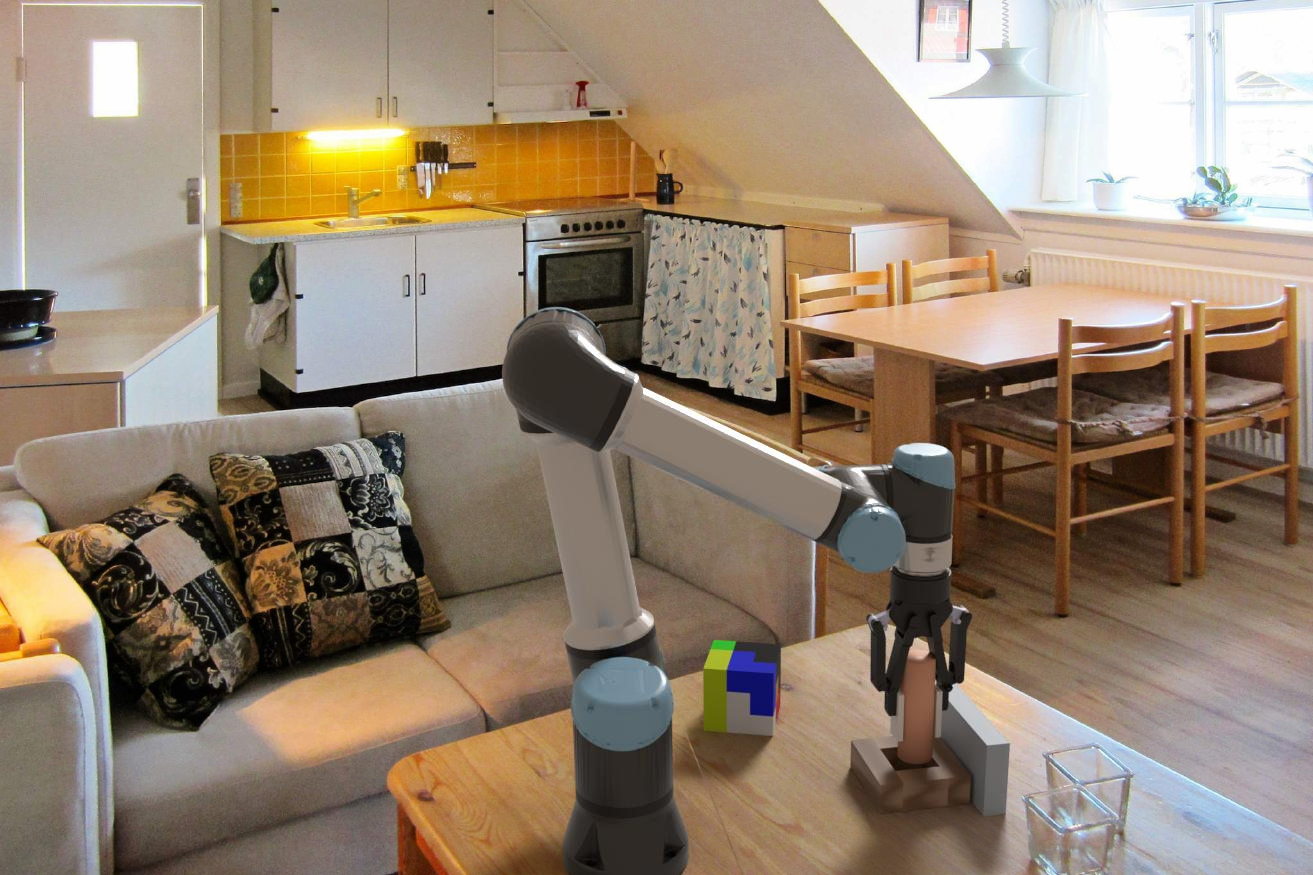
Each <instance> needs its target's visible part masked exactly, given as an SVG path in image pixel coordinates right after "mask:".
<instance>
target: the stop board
mask: <svg viewBox="0 0 1313 875" xmlns="http://www.w3.org/2000/svg"><path fill="white" fill-rule="evenodd" d="M952 686H953V689H952V691H951V692H949V702H948V703H949V704H948V709H947V710H946V711H942V720H941V737H940V738H941V739H942V740H943V741H944V743H945V744H946V745H947V746H948V748H949V749H950V750H951V751H952V753H953V754H954V755H955V756H956V758H957V759H958V760H959V761H960V763H961V764H962V765H963V766H964V768H965V769H966V770H967V771H968V773H969V774H970V775H971V785H970V801H971V802H972V803H973V805H974V806H975V807H976V809H977V810H978V811H979V813H980V814H981V816H983V817H988V816H996V815H1005V814H1006V813H1007V799H1008V782H1009V767H1010V766H1009V765H1010V749H1011V748H1010V747H1011V743H1010V741H1009V740H1008V739H1007V738H1006V737H1005V736H1004V735H1003V734H1002V733H1001V731H1000V730H999V729H998V728H997V727H996V726H995V725H994V724H993V722H992V721H991V720H990V719H989V718H988V717H987V716H986V715H985V714H984V712H982V710H981V709H980V708H979V707H978V706H977V705H976V704H975V703H974V701H973V700H972V699H971V698H970V697H969V696H968V695H967V694H966V692H965V691H964V690H963V689H962V688H961V687H960V686H959V684H958V683H956V684H953V685H952Z"/></svg>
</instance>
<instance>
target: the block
mask: <svg viewBox="0 0 1313 875" xmlns="http://www.w3.org/2000/svg"><path fill="white" fill-rule="evenodd" d="M897 749H898V742H897V740H896V739H895V738H894V736H893V735H889V736H888V735H887V736H880V737H870V738H869V737H867V738H860V739H859V738H857V739H851V740H850V763H849V764H850V768H851V770H852V772H853V774H854V775H855V776H856V778H857V780H858V781H859V783H860V784H861V786H862V788H863V789H864V791H865V792H866V794H867V796H868V797H869V799H870V801H871V802H872V804H873V806H874V807H875V808H876V810H877V811H878V812H877V813H879V815H881V814H889V813H897V812H898V813H899V812H905V811H906V812H907V811H916V810H917V811H918V810H924V809H933V808H934V809H935V808H944V807H945V808H946V807H954V806H961V805H962V806H964V805H970V801H971V800H970V785H971V775H970V774H969V773H968V771H967V770H966V769H965V768H964V766H963V765H962V764H961V763H960V761H959V760H958V759H957V758H956V756H955V755H954V754H953V753H952V751H951V750H950V749H949V748H948V746H947V745H946V744H945V743H944V741H943V740H942V739H941V738H940V737H937V738H935V737H934V735H933V752H932V759H931V760H930V761H929V762H927V763H924V764H911V763H907V762H904V761H902V760H901V759H899V757H898V755H897Z"/></svg>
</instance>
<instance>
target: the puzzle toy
mask: <svg viewBox="0 0 1313 875" xmlns="http://www.w3.org/2000/svg"><path fill="white" fill-rule="evenodd" d="M702 668H703V671H702V672H703V673H702V674H703V675H702V676H703V678H702V679H703V682H702V684H703V690H702V692H703V693H702V694H703V732H705V731H706V732H717V733H731V734H742V735H755V736H767V737H773V736H774V734H775V730H776V724H777V721H778V718H779V714H780V709H781V692H782V691H781V690H782V688H781V684H782V683H781V681H782V680H781V679H782V678H781V675H782V670H781V669H782V644H779V643H766V642H750V641H749V642H748V641H738V640H737V641H734V640H724V639H723V640H721V639H720V640H718V639H713V642H712V645H711V646H710V649H709V652H708V655H707V658H706V660H705V663H704V666H703V667H702Z"/></svg>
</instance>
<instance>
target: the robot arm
mask: <svg viewBox="0 0 1313 875" xmlns="http://www.w3.org/2000/svg"><path fill="white" fill-rule="evenodd" d="M606 354H607V352H606V344H605V341H604V337H603V336H602V334H601V332H600V330H599V328H597V326H596V325H595V323H594V322H593V321H592V320H591V319H589V318H588V317H587V316H585V315H584V314H582V313H581V312H579V311H577V310H574V309H573V308H572V309H571V308H568V307H561V306H553V307H552V306H551V307H550V306H549V307H544V308H541V309H539V310H536V311H534V312H532V313H530V314H529V315H527V316H526V317H523V319H522V320H520V322H519V323H518V324H517V325H516V326H515V327H514V329H513V330H512V332H511V334H510V335H509V338H508V341H507V345H506V353H505V357H504V358H503V362H502V370H501V377H502V385H503V389H504V391H505V395H506V396H507V398H508V400H509V402H510V403H511V405H512V406H513V408H514V409H515V410H516V415H517V419H518V424H519V429H520V433H522V434H523V435H524V436H526V437H528V438H530V439H531V440H532V441H533V442H534V443H535V444H536V449H537V453H538V458H539V465H540V469H541V473H542V478H543V482H544V488H545V492H546V496H547V502H548V506H549V507H548V508H549V511H550V517H551V522H552V527H553V532H554V536H555V541H556V547H557V551H558V556H559V560H560V565H561V570H562V576H563V580H564V584H565V589H566V590H565V591H566V595H567V600H568V604H569V608H570V609H569V610H570V615H571V619H572V620H571V622H570V623H569V624H568V626H567V628H566V629H565V630H564V632H563V639H564V644H565V650H566V654H567V658H568V664H569V668H570V673H571V680H572V684H573V685H572V687H573V688H572V694H571V699H570V715H571V718H572V731H573V733H572V734H573V735H572V736H573V758H574V759H573V760H574V761H573V762H574V763H573V765H574V784H575V785H574V787H575V801H574V804H573V807H572V811H571V812H570V817H569V820H568V823H567V826H566V829H565V833H564V836H563V839H562V840H563V841H562V858H563V866H564V868H565V870H566V871H567V873H568V874H569V875H680V874H682V872H683V871H684V870H685V868H686V867H687V865H688V862H689V856H690V855H689V854H690V852H689V851H690V850H689V835H688V833H687V829H686V827H685V824H684V821H683V819H682V816H681V813H680V811H679V808H678V806H677V803H676V800H675V797H674V756H673V750H674V748H673V747H674V746H673V743H674V742H673V716H674V715H673V714H674V711H675V710H674V708H675V705H674V703H675V701H674V695H673V692H672V687H671V683H670V680H669V677H668V676H667V675H666V664H665V663H666V662H665V659H664V654H663V651H662V649H661V648H660V642H659V639H658V632H657V628H656V623H655V618H654V616H653V614H652V613H651V612H649V611H648V610H646V609H644V608H643V607H641V605H640V603H639V598H638V597H639V596H638V592H637V587H636V582H635V576H634V570H633V565H632V562H631V561H632V560H631V555H630V549H629V544H628V540H627V539H628V538H627V535H626V534H627V533H626V530H625V529H626V528H625V523H624V518H623V512H622V509H621V503H620V497H619V493H618V488H617V487H618V486H617V481H616V476H615V470H614V466H613V461H612V455H611V451H612V450H615V451H617V452H620V453H621V454H624V455H626V456H627V457H631V458H632V459H634V460H636V461H639V462H641V463H644V464H645V465H647V466H649V467H652V468H654V469H657V470H658V471H661V472H663V473H665V474H668V475H669V476H671V477H673V478H676V479H677V480H680V481H683V482H684V483H687V484H689V485H691V486H693V487H696V488H698V489H700V490H702V491H704V492H707V493H708V494H710V495H713V496H715V497H717V498H719V499H722V500H724V501H726V502H728V503H730V504H732V505H735V506H737V507H739V508H741V509H743V510H745V511H748V512H750V513H752V514H754V515H756V516H759V517H761V518H762V519H765V520H767V521H769V522H772V523H774V524H777V525H778V526H780V527H782V528H785V529H787V530H788V531H791V532H793V533H796V534H798V535H800V536H802V537H803V538H807V540H808V539H809V540H811V541H813V542H816V543H817V544H818V545H820V546H823V547H825V548H827V549H830V550H832V551H833V552H836V553H837V554H839V556H840V557H841V559H842V560H843V561H845V563H846V564H848V565H849V566H850V567H851V568H853V569H854V570H856V571H857V572H861V573H864V574H878V573H882V572H884V571H887V570H888V569H890V571H889V572H890V574H889V575H890V576H889V578H890V579H889V601H888V603H887V605H886V608H885V610H884V611H882V612H879V613H877V614H874V613H872V612H871V613H868V614H867V615H866V617H865V619H866V621H867V622H866V623H867V624H868V628H869V630H870V665H869V666H870V674H869V677H870V682H871V684H872V686H873V687H874V688H875V689H876V691H877V692H879V693H880V692H884V707H883V708H884V711H885V712H886V714H887V715H888V717H890V728H889V729H890V730H889V731H890V733H891V736H894V738H895V739H896V740H897V742H899V741H903V723H904V694H903V693H902V692H901V691H900V689H899V688H900V684H901V680H902V677H903V673H904V669H905V665H906V661H907V657H908V654H909V650H911V648H912V647H913V645H914V641H915V639H917V638H920V637H924V638H926V642H927V646H928V652H930V653H931V654H932V655H933V656H934V657H935V658H936V669H935V697H934V725H933V735H934V737H935V738H937V737H941V720H942V711H946V710H947V709H948V704H949V703H948V702H949V692H951V691H952V689H953V686H952V685H953V684H957V685H961V684H962V683H964V681H965V673H966V672H965V671H966V669H965V668H966V654H967V653H966V652H967V639H968V638H967V636H968V635H967V634H968V628H969V627H970V623H971V621H972V619H973V614H972V613H971V612H970V611H969V610H968V609H967V608H966V607H965V606H964V605H962V604H961V605H957V606H956V605H953V603H952V601H951V598H950V596H951V588H952V570H951V568H950V567H951V565H952V557H953V522H954V505H955V489H956V488H957V486H956V477H955V476H956V471H955V470H956V467H955V457H954V454H953V453H952V451H950V450H949V449H948V448H947V447H944V446H942V445H939V444H935V443H929V442H928V443H927V442H925V443H924V442H913V443H909V444H901V445H899V446H897V447H896V448H895V449H894V451H893V456H892V458H891V462H889V463H888V462H887V463H883V464H882V463H881V464H857V465H856V464H855V465H850V464H849V465H848V464H847V465H828V464H824V465H819V466H810V465H808V464H805V462H804V463H803V462H802V461H799V460H797V459H795V458H793V457H792V456H789V455H787V454H785V453H783V452H781V451H778V450H777V449H774V448H771V447H770V446H768V445H765V444H764V443H761V442H759V441H757V440H755V439H753V438H751V437H749V436H747V435H744V434H742V433H740V432H738V431H736V430H734V429H732V428H730V427H728V426H725V425H724V424H721V423H719V422H717V421H715V420H713V419H711V418H709V417H707V416H705V415H702V414H701V413H698V412H696V411H694V410H691V409H690V408H687V407H686V406H683V405H681V404H679V403H677V402H675V401H672V400H671V399H669V398H666V397H665V396H662V395H660V394H658V393H656V392H654V391H651V390H650V389H647V388H645V387H643V385H642V382H641V379H640V377H639V375H638V373H635V372H634V371H631V370H629V369H627V368H625V367H623V366H622V365H619V364H617V363H616V362H615V361H613V360H611V359H610V358H609V357H608V356H606ZM948 618H949V620H950V621H951V622H950V632H949V633H950V634H949V648H948V651H949V653H948V664H947V659H946V655H945V654H946V653H945V650H944V644H943V642H944V639H943V633H942V630H941V628H942V627H943V626H944V624H945V623H946V621H947V620H948ZM889 621H891V622H892V623H893V624H894V626H895V629H894V633H893V634H894V640H893V644H892V649H891V652H890V657H889V659H888V660H889V661H888V664H886V663H887V659H886V658H887V637H886V632H887V631H888V626H889V625H888V624H889ZM886 665H887V666H886ZM886 667H887V668H886Z"/></svg>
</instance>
